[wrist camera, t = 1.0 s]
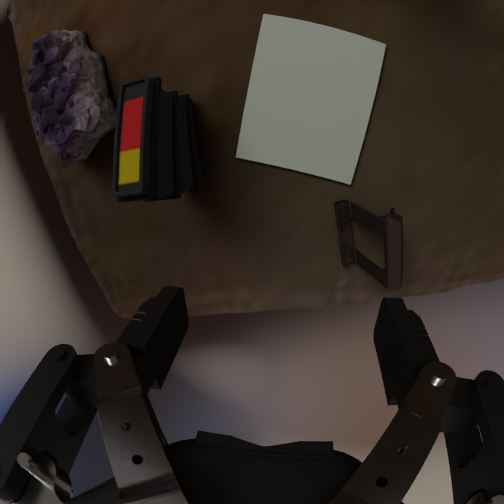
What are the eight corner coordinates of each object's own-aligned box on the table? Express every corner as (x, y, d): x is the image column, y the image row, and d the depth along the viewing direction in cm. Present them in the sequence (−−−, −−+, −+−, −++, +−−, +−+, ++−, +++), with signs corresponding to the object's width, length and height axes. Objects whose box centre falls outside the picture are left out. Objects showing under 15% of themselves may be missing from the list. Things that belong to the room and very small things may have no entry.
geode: (41, 59, 29) (-1, 55, 20) (98, 19, 27) (60, 2, 18) (73, 168, 37) (32, 186, 28) (134, 137, 36) (99, 146, 27)
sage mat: (264, 15, 25) (263, 13, 25) (384, 45, 25) (386, 44, 24) (236, 156, 35) (235, 157, 34) (349, 183, 34) (350, 184, 34)
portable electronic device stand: (332, 199, 36) (341, 228, 28) (392, 190, 34) (414, 217, 27) (341, 259, 40) (348, 298, 33) (395, 251, 38) (412, 287, 31)
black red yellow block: (178, 209, 37) (109, 201, 23) (179, 114, 36) (120, 66, 22) (206, 207, 37) (146, 196, 22) (205, 110, 36) (154, 55, 21)
